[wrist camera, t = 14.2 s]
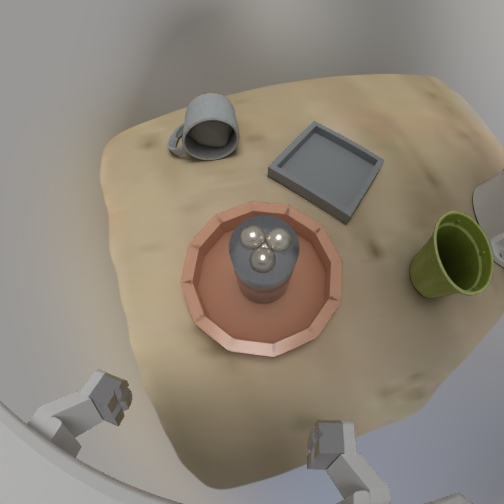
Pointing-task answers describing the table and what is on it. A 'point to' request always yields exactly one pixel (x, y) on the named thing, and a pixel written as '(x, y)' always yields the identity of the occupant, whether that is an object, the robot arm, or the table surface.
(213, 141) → the ceramic mug
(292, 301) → the terracotta bowl
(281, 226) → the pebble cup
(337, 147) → the parts tray
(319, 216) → the table surface
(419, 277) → the plant pot
